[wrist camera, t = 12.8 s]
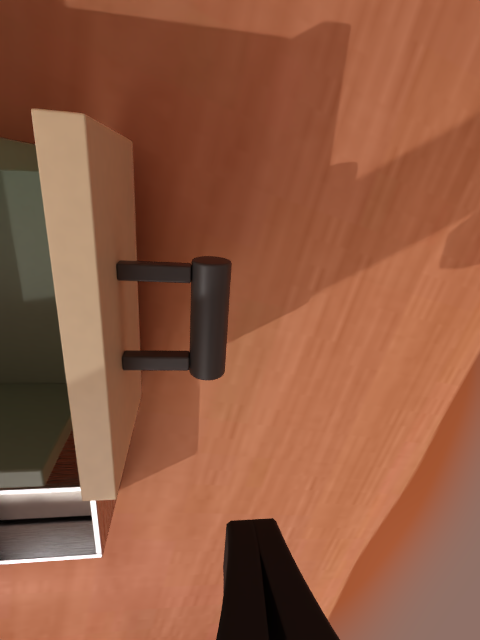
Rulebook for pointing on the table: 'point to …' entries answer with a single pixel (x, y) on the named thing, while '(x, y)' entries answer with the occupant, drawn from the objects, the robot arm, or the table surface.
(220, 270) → the drawer
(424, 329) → the table surface
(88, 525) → the brown open box
